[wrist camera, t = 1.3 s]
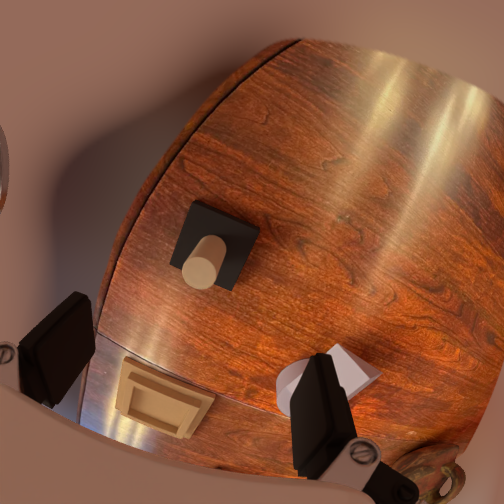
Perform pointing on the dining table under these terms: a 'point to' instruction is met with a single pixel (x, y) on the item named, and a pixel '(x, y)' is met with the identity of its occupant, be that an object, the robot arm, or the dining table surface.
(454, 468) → the ceramic vessel
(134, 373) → the base pad
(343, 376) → the wedge on round base
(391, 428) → the dining table surface
